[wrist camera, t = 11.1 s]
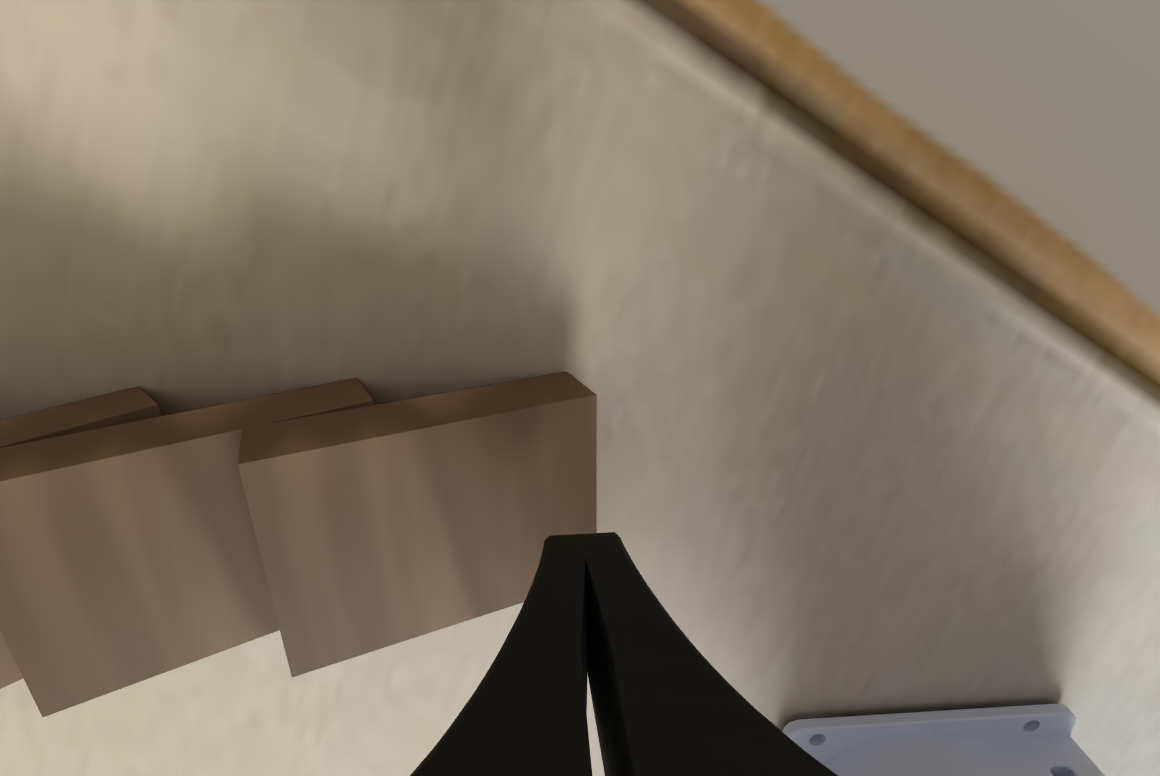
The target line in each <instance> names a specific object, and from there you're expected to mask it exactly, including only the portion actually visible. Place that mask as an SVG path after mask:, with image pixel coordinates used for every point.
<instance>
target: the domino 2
mask: <svg viewBox="0 0 1160 776" xmlns="http://www.w3.org/2000/svg"><path fill="white" fill-rule="evenodd" d="M372 405H374V400H373V399H372V398H371V396H370V395H369V394H368V392H367V391H366V390H365V389H364V387H363V386H362V385H361V383H360V382H359V381H358V379H357V378H354V379H349V380H344V381H339V382H334V383H328V384H323V385H318V386H313V387H308V388H303V389H298V390H293V391H288V392H283V393H277V394H272V395H267V396H262V397H257V398H252V399H247V400H242V401H237V402H232V403H227V404H221V405H216V406H211V407H206V408H201V409H196V410H191V411H186V412H181V413H176V414H171V415H165V416H160V417H155V418H150V419H145V420H140V421H135V422H130V423H125V424H120V425H114V426H109V427H104V428H99V429H94V430H89V431H84V432H79V433H74V434H69V435H64V436H58V437H53V438H48V439H43V440H38V441H33V442H28V443H23V444H18V445H13V446H8V447H2V448H0V631H1V633H2V635H3V637H4V639H5V641H6V643H7V645H8V647H9V649H10V651H11V653H12V656H13V658H14V660H15V662H16V664H17V666H18V668H19V670H20V672H21V674H22V676H23V678H24V680H25V682H26V684H27V686H28V688H29V690H30V692H31V694H32V696H33V698H34V700H35V703H36V705H37V707H38V709H39V711H40V713H41V715H42V717H45V716H48V715H50V714H53V713H56V712H58V711H61V710H64V709H67V708H69V707H72V706H75V705H77V704H80V703H83V702H86V701H88V700H91V699H94V698H96V697H99V696H102V695H105V694H107V693H110V692H113V691H115V690H118V689H121V688H124V687H126V686H129V685H132V684H134V683H137V682H140V681H143V680H145V679H148V678H151V677H153V676H156V675H159V674H162V673H164V672H167V671H170V670H172V669H175V668H178V667H180V666H183V665H186V664H189V663H191V662H194V661H197V660H199V659H202V658H205V657H208V656H210V655H213V654H216V653H218V652H221V651H224V650H227V649H229V648H232V647H235V646H237V645H240V644H243V643H246V642H248V641H251V640H254V639H256V638H259V637H262V636H265V635H267V634H270V633H273V632H275V631H278V630H280V628H279V624H278V620H277V616H276V612H275V608H274V604H273V601H272V597H271V593H270V589H269V585H268V581H267V577H266V573H265V569H264V565H263V561H262V557H261V553H260V550H259V546H258V542H257V538H256V534H255V530H254V526H253V522H252V518H251V514H250V510H249V506H248V503H247V499H246V495H245V491H244V487H243V483H242V479H241V475H240V471H239V467H238V458H239V449H240V440H241V431H242V428H245V427H251V426H257V425H263V424H268V423H274V422H280V421H286V420H292V419H297V418H303V417H309V416H315V415H320V414H326V413H332V412H338V411H343V410H349V409H355V408H361V407H366V406H372Z"/></svg>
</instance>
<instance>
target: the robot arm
mask: <svg viewBox="0 0 1160 776" xmlns="http://www.w3.org/2000/svg"><path fill="white" fill-rule="evenodd" d="M587 672H588V678H589V684H590V690H591V696H592V702H593V708H594V713H595V719H596V725H597V731H598V737H599V743H600V748H601V754H602V760H603V766H604V772H605V776H1105V775H1104V774H1103V773H1102V772H1101V771H1100V770H1099V769H1098V767H1097V766H1096V765H1095V764H1094V763H1093V762H1092V761H1091V759H1090V758H1089V757H1088V756H1087V755H1086V754H1085V753H1084V751H1083V750H1082V749H1081V748H1080V747H1079V746H1078V745H1077V744H1076V742H1075V741H1074V740H1073V739H1072V738H1071V737H1070V734H1071V732H1072V729H1073V727H1074V724H1075V719H1076V718H1075V716H1074V714H1073V713H1072V712H1071V711H1070V710H1069V709H1068V707H1067V706H1065V705H1063V704H1040V705H1024V706H1008V707H992V708H976V709H960V710H944V711H927V712H911V713H895V714H879V715H863V716H847V717H831V718H814V719H799V720H794V721H791V722H789V723H788V724H787V725H786V726H785V727H784V729H783V731H781V730H780V729H778V728H777V727H776V726H775V725H774V724H773V723H771V722H770V721H769V720H768V719H767V718H766V717H764V716H763V715H762V714H761V713H760V712H758V711H757V710H756V709H755V708H754V707H753V706H752V705H751V704H750V703H749V702H748V701H747V700H746V699H744V698H743V697H742V696H741V695H740V694H739V693H738V692H737V691H736V690H735V689H734V688H733V687H732V686H731V685H730V684H729V683H728V682H727V681H726V680H725V679H724V678H723V677H722V676H721V675H720V674H719V673H718V672H717V671H716V670H715V669H714V668H713V667H712V665H711V664H710V663H709V662H708V661H707V660H706V659H705V658H704V657H703V656H702V654H701V653H700V652H699V651H698V650H697V649H696V648H695V646H694V645H693V644H692V643H691V642H690V641H689V639H688V638H687V637H686V636H685V634H684V633H683V632H682V631H681V630H680V628H679V627H678V626H677V625H676V623H675V622H674V621H673V620H672V618H671V617H670V616H669V614H668V613H667V612H666V610H665V609H664V608H663V606H662V605H661V603H660V602H659V601H658V599H657V598H656V596H655V595H654V594H653V592H652V591H651V589H650V588H649V587H648V585H647V584H646V582H645V581H644V579H643V577H642V576H641V574H640V573H639V571H638V569H637V568H636V566H635V565H634V563H633V561H632V560H631V558H630V556H629V554H628V552H627V551H626V549H625V547H624V545H623V543H622V541H621V538H620V537H619V536H618V535H617V534H616V533H615V532H612V533H591V534H570V535H550V536H549V537H548V538H547V539H546V540H545V541H544V546H543V551H542V555H541V559H540V563H539V566H538V569H537V572H536V574H535V577H534V580H533V583H532V585H531V588H530V590H529V592H528V594H527V597H526V599H525V601H524V604H523V606H522V608H521V611H520V613H519V615H518V617H517V619H516V621H515V623H514V625H513V627H512V629H511V631H510V632H509V634H508V636H507V638H506V640H505V642H504V644H503V646H502V648H501V650H500V651H499V653H498V655H497V657H496V658H495V660H494V662H493V664H492V665H491V667H490V669H489V670H488V672H487V673H486V675H485V677H484V678H483V680H482V681H481V683H480V684H479V686H478V688H477V689H476V691H475V692H474V694H473V695H472V697H471V698H470V700H469V701H468V702H467V704H466V705H465V707H464V708H463V709H462V711H461V712H460V714H459V715H458V716H457V718H456V719H455V721H454V722H453V723H452V725H451V726H450V728H449V729H448V730H447V731H446V733H445V734H444V735H443V737H442V738H441V739H440V741H439V742H438V743H437V744H436V746H435V747H434V748H433V750H432V751H431V752H430V753H429V754H428V755H427V757H426V758H425V759H424V760H423V761H422V762H421V764H420V765H419V766H418V767H417V768H416V769H415V771H414V772H413V773H412V774H411V775H410V776H592V769H591V758H590V748H589V737H588V726H587V715H586V709H587Z"/></svg>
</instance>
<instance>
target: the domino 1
mask: <svg viewBox="0 0 1160 776" xmlns="http://www.w3.org/2000/svg"><path fill="white" fill-rule="evenodd" d="M160 416H162V415H161V412H160V409H159V406H158V404H157V403H156V402H155V401H154V400H153V399H151V398H150V397H149V396H148V395H147V394H146V393H145V392H144V391H143V390H141V389H140V388H139V387H134V388H130V389H126V390H122V391H118V392H114V393H110V394H106V395H102V396H97V397H93V398H89V399H85V400H81V401H77V402H73V403H69V404H65V405H61V406H56V407H52V408H48V409H44V410H40V411H36V412H32V413H28V414H24V415H20V416H15V417H11V418H7V419H3V420H0V448H2V447H8V446H13V445H18V444H23V443H28V442H33V441H38V440H43V439H48V438H53V437H58V436H64V435H69V434H74V433H79V432H84V431H89V430H94V429H99V428H104V427H109V426H114V425H120V424H125V423H130V422H135V421H140V420H145V419H150V418H155V417H160ZM22 678H23V676H22V674H21V672H20V670H19V668H18V666H17V664H16V662H15V660H14V658H13V656H12V653H11V651H10V649H9V647H8V645H7V643H6V641H5V639H4V637H3V635H2V633H1V631H0V689H1V688H3V687H5V686H7V685H10V684H12V683H14V682H16V681H18V680H20V679H22Z"/></svg>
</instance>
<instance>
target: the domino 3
mask: <svg viewBox="0 0 1160 776" xmlns="http://www.w3.org/2000/svg"><path fill="white" fill-rule="evenodd" d="M238 467H239V471H240V475H241V479H242V483H243V487H244V491H245V495H246V499H247V503H248V506H249V510H250V514H251V518H252V522H253V526H254V530H255V534H256V538H257V542H258V546H259V550H260V553H261V557H262V561H263V565H264V569H265V573H266V577H267V581H268V585H269V589H270V593H271V597H272V601H273V604H274V608H275V612H276V616H277V620H278V624H279V628H280V632H281V636H282V640H283V644H284V648H285V651H286V655H287V659H288V663H289V667H290V671H291V675H292V677H295V676H298V675H301V674H304V673H307V672H310V671H313V670H316V669H319V668H322V667H325V666H328V665H332V664H335V663H338V662H341V661H344V660H347V659H350V658H353V657H356V656H359V655H362V654H365V653H368V652H371V651H375V650H378V649H381V648H384V647H387V646H390V645H393V644H396V643H399V642H402V641H405V640H408V639H411V638H415V637H418V636H421V635H424V634H427V633H430V632H433V631H436V630H439V629H442V628H445V627H448V626H451V625H454V624H458V623H461V622H464V621H467V620H470V619H473V618H476V617H479V616H482V615H485V614H488V613H491V612H494V611H497V610H501V609H504V608H507V607H510V606H513V605H516V604H519V603H522V602H524V601H525V599H526V597H527V594H528V592H529V590H530V588H531V585H532V583H533V580H534V577H535V574H536V572H537V569H538V566H539V563H540V559H541V555H542V551H543V546H544V541H545V540H546V539H547V538H548V537H549V536H550V535H570V534H591V533H596V394H595V393H593V392H592V391H591V390H590V389H588V388H587V387H586V386H584V385H583V384H582V383H581V382H579V381H578V380H577V379H575V378H574V377H573V376H572V375H570V374H569V373H568V372H562V373H557V374H551V375H545V376H539V377H534V378H528V379H522V380H516V381H511V382H505V383H499V384H493V385H488V386H482V387H476V388H470V389H464V390H459V391H453V392H447V393H441V394H436V395H430V396H424V397H418V398H413V399H407V400H401V401H395V402H390V403H384V404H378V405H372V406H366V407H361V408H355V409H349V410H343V411H338V412H332V413H326V414H320V415H315V416H309V417H303V418H297V419H292V420H286V421H280V422H274V423H268V424H263V425H257V426H251V427H245V428H242V431H241V440H240V449H239V458H238Z"/></svg>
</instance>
